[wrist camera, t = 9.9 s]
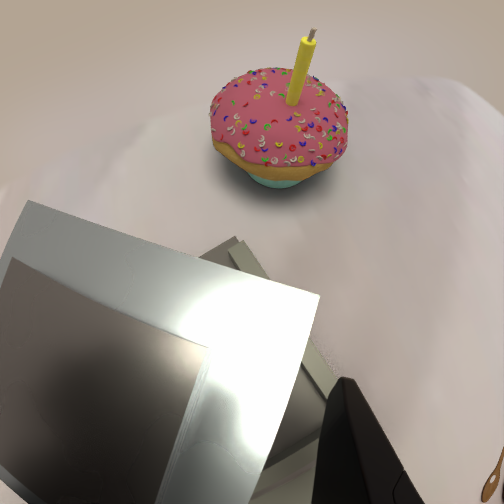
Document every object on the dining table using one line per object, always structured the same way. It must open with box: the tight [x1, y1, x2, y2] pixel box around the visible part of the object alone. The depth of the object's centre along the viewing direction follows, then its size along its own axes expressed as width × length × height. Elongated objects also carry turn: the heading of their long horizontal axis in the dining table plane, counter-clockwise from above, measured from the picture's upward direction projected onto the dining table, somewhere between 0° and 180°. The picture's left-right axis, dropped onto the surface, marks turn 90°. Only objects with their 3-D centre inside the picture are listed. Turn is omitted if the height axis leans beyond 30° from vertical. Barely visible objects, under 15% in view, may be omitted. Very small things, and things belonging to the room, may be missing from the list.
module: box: [0, 200, 320, 504], centre depth 9 cm, size 5×5×14 cm
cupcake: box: [209, 27, 348, 188], centre depth 15 cm, size 9×8×12 cm
